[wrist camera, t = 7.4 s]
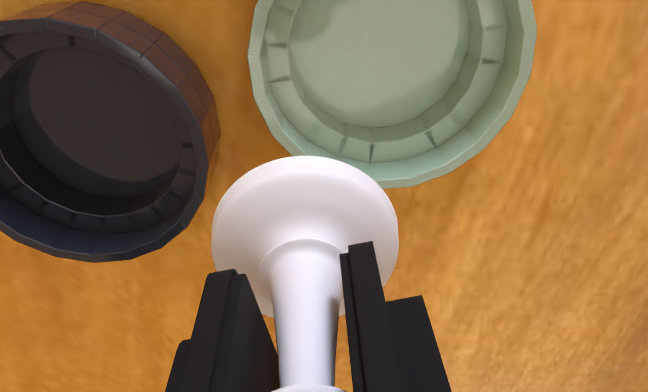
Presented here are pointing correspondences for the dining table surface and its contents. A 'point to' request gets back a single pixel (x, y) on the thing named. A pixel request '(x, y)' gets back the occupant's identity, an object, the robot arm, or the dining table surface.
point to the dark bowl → (99, 133)
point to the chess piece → (302, 253)
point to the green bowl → (390, 79)
